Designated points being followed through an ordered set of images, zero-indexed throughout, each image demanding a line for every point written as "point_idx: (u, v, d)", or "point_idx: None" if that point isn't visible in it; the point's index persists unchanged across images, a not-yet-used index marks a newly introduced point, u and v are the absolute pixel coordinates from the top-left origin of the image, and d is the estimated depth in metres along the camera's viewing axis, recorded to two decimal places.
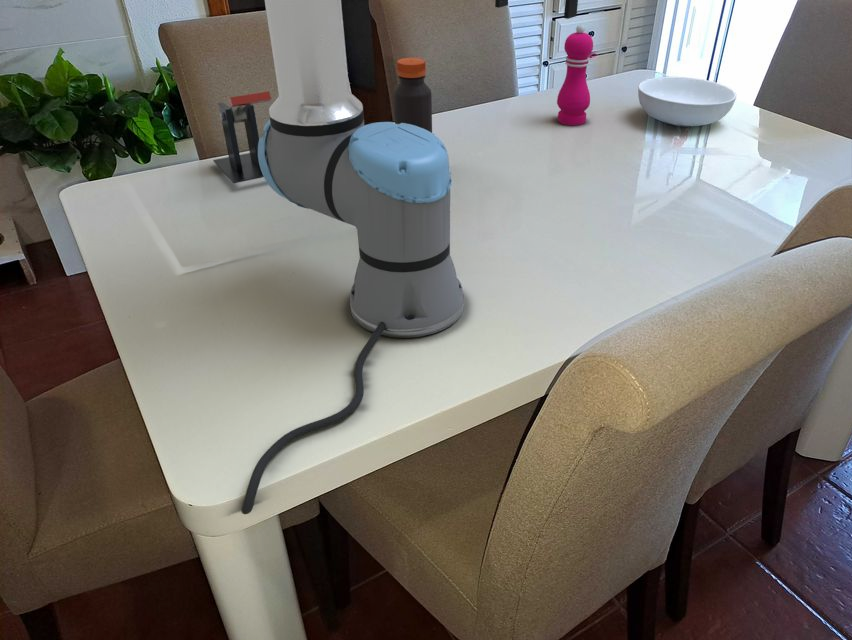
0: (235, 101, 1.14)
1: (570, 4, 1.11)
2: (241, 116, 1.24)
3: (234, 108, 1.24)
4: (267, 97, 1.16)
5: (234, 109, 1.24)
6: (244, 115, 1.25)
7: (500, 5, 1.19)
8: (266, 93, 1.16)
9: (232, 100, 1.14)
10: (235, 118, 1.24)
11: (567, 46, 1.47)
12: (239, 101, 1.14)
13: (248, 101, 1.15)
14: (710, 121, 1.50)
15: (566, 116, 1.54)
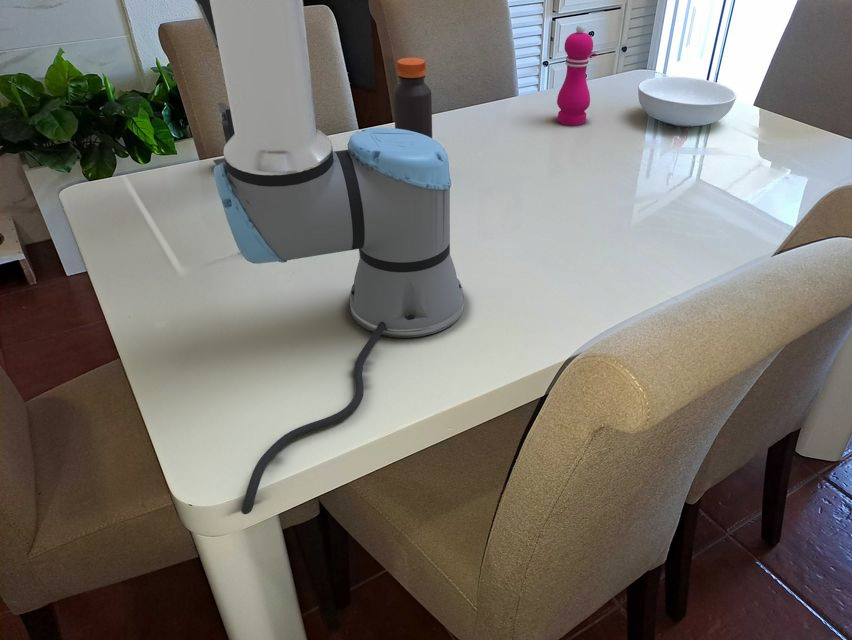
0: None
1: None
2: None
3: None
4: None
5: None
6: None
7: None
8: None
9: None
10: None
11: (567, 46, 1.47)
12: None
13: None
14: (710, 121, 1.50)
15: (566, 116, 1.54)
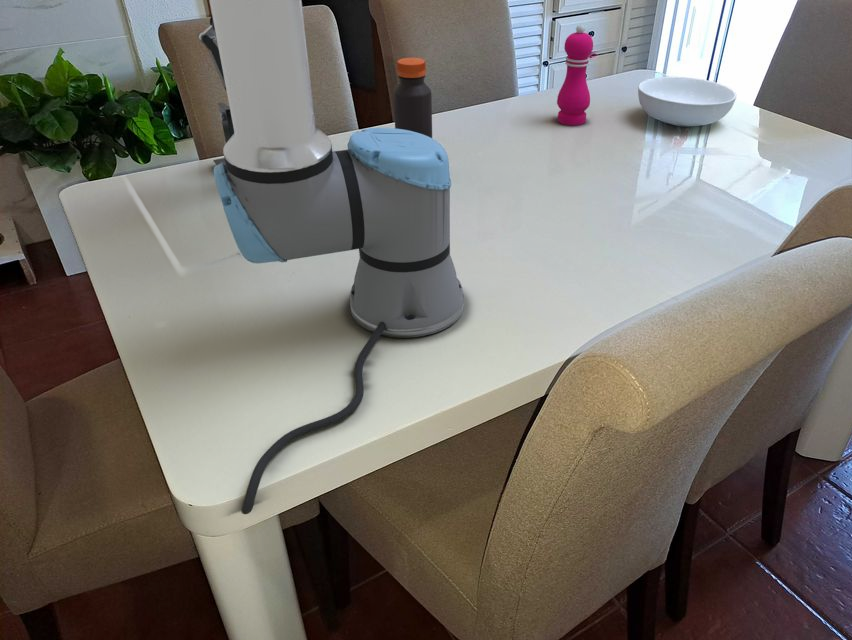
0: None
1: None
2: None
3: None
4: None
5: None
6: None
7: None
8: None
9: None
10: None
11: (567, 46, 1.47)
12: None
13: None
14: (710, 121, 1.50)
15: (566, 116, 1.54)
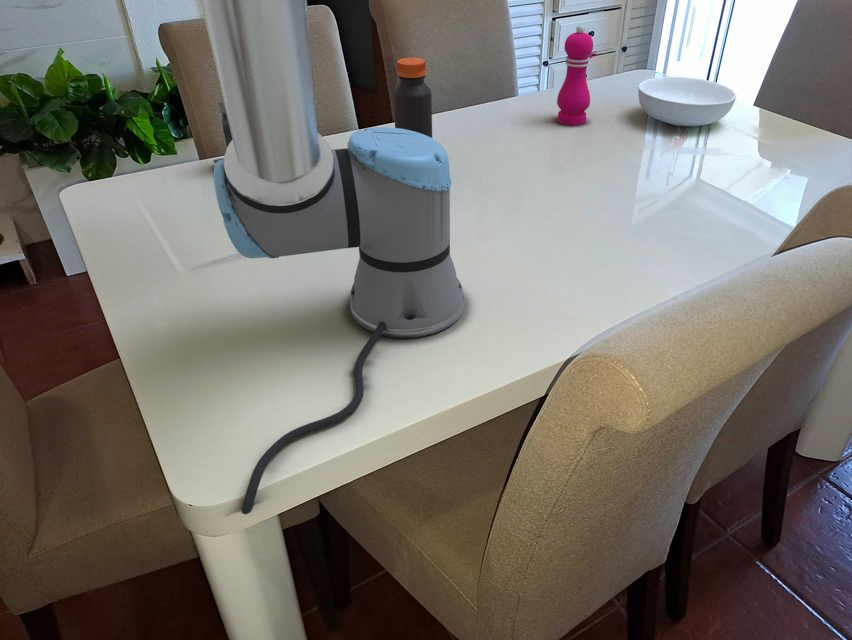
0: None
1: None
2: None
3: None
4: None
5: None
6: None
7: None
8: None
9: None
10: None
11: (567, 46, 1.47)
12: None
13: None
14: (710, 121, 1.50)
15: (566, 116, 1.54)
